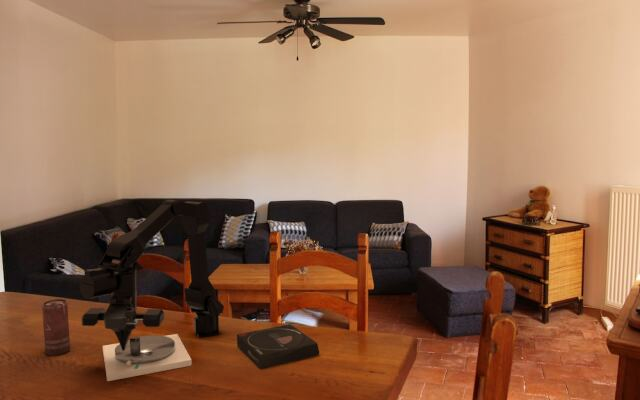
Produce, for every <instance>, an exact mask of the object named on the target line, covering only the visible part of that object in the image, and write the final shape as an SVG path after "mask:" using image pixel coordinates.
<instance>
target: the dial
mask: <svg viewBox="0 0 640 400" xmlns="http://www.w3.org/2000/svg"><path fill="white" fill-rule="evenodd" d="M166 336H167V335H158V334H156V335H155V334H154V335H153V334H152V335H143V336H133V337H131V338H130V337H129V340H128V342H127V345H126V349H125V350H124V351H122V347H121V345H120V344H119V345H118V346H117V347H116V348H115V358H116V359H117V360H118V361H121V362H124V363H126V365H131V364H139V363H148V362H153V361H157V360H160V359H163V358H165V357H167V356H169V355H170V354H172V353H173V352H174V350H175V342H174V340H173V339H171V338H169V337H166Z"/></svg>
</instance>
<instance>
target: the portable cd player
mask: <svg viewBox="0 0 640 400" xmlns="http://www.w3.org/2000/svg"><path fill="white" fill-rule="evenodd" d="M236 345H237V346H236V348H238V349H239V350H240V351H241V352H242V353H243V354H244V355H245V356H246V357H247V358H248V359H249V361H251V362H252V363H253V364H254V365H255V366H256V368H258V369H259V370H263V369H267V368H271V367H276V366H280V365H284V364H288V363H291V362H297V361H301V360H306V359H309V358H313V357H318V356H319V354H320V349H319V345H318V342H316V341H315V340H313V338H310V337H309V336H308V335H306V334H305V333H303V332H302V331H301V330H299V329H298V328H297V327H295V326H293V325H292V324H283V325H279V326H278V325H277V326H274V327H268V328H263V329H257V330H253V331H249V332H242V333H238V334H236ZM275 365H276V366H275Z"/></svg>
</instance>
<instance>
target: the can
mask: <svg viewBox="0 0 640 400" xmlns="http://www.w3.org/2000/svg"><path fill="white" fill-rule="evenodd" d="M41 309H42V310H41V312H42V323H43V324H42V325H43V326H42V327H43V340H44V352H45V354H46V355H48V356H52V357H55V356H61V355H64V354H66V353H68V352H69V351H70V350H71V340H70V339H71V338H70V324H69V310H68V309H69V308H68V303H67V300H65V299H61V298H59V299H51V300H47V301H44V302H43V304H42V307H41Z"/></svg>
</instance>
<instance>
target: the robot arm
mask: <svg viewBox="0 0 640 400" xmlns="http://www.w3.org/2000/svg"><path fill="white" fill-rule="evenodd" d="M210 209H211V208H210V207H209V205H208V204H206V203H205V202H201V201H200V202H198V201H185V202H183V201H179V200H173V199H166V200H164V201H162V202H161V204H160V206H158V207H157V208H156V209H155V210H154V211H153V212H152V213H151V214H150V215H148V216H147V217H145V219H144V220H143V221H142V222H141V223H139V225H137V226H136V227H135V228H134V229H132V230H131V231H128V232H126V233H123V234H121V235H119V236H117V237H116V238H114V239H113V240H111V241H110V242H108V244H107V246H106V251H105V252H104V254H103V256H102V258H101V259H100V261H99V263H98V264H97V268H94V269H92V268H91V269H90V268H89V269H85V270H84V275H83V276H82V277H81V278H80V282H79V284H78V285H79V291H80V294H81V296H82V297H83V298H84V299H85V300H92V299H96V298H101V297H103V296H104V297H105V296H108V295H111V296H110V299H109V304H108V307H107V308H105V307H104V308H103V307H91V308H89V309H88V310H87V311H86V312H85V313H84V314H83V315H82V316H81V326H83V327H85V326H86V327H94V326H96V325H97V324H98V323H99V321H103V323H104V328H105V329H107V330H111V331H113V333H115V335H116V338H117V339H118V343H120V345H121V347H122V351H124V350H125V349H126V345H127V342H128V340H129V339H130V337H131V333H132V332H133V330H135V329H136V328H137V326H138V325H140V323H141V322H142V324H143V325H144V326H145V327H146V328H152V327H153V328H157V327H161V324H162V323H163V321H164V320H165V312H164V310H163V309H161V308H147V310H146V311H145V312H143V313H142V312H137V311H138V306H137V295H138V290H137V272H139V271H144V269H145V268H144V266H142V265H141V263H139V259H140V258H141V256H142V255H143V253H145V251H146V247H147V245H148V243H149V242H150V241H151V240H152V239H153V238H154V237H155V236H156V235H158V233H160V232H161V231H162V230H163V229H164V228H165V227H166V226H167V225H168V224H169V223H170V222H171V221H172V220H173V219H175V217H179V218H180V224H181V225H182V227H183V229H184V230H185V232H186V234H187V244H188V258H189V271H190V282H189V285H188V287H185V288H184V302H186V305H187V307H189V309H190V312H191V313H195V317H193V331H194V333H195V334H196V335H197V336H198V338H203V337H210V336H216V335H221V331H220V325H219V324H220V322H219V320H220V319H219V316H220V315H221V314H223V311H224V308H225V307H224V306H225V305H224V304H223V303H221V302H220V301H219V300H218V299H217V295H216V290H215V288H214V286H213V284H212V282H211V281H210V279H209V269H208V268H209V267H208V266H209V265H208V254H207V253H208V252H207V243H206V239H207V238H206V231H207V229H208V227H209V225H210V220H211V219H210V216H211V210H210Z"/></svg>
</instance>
